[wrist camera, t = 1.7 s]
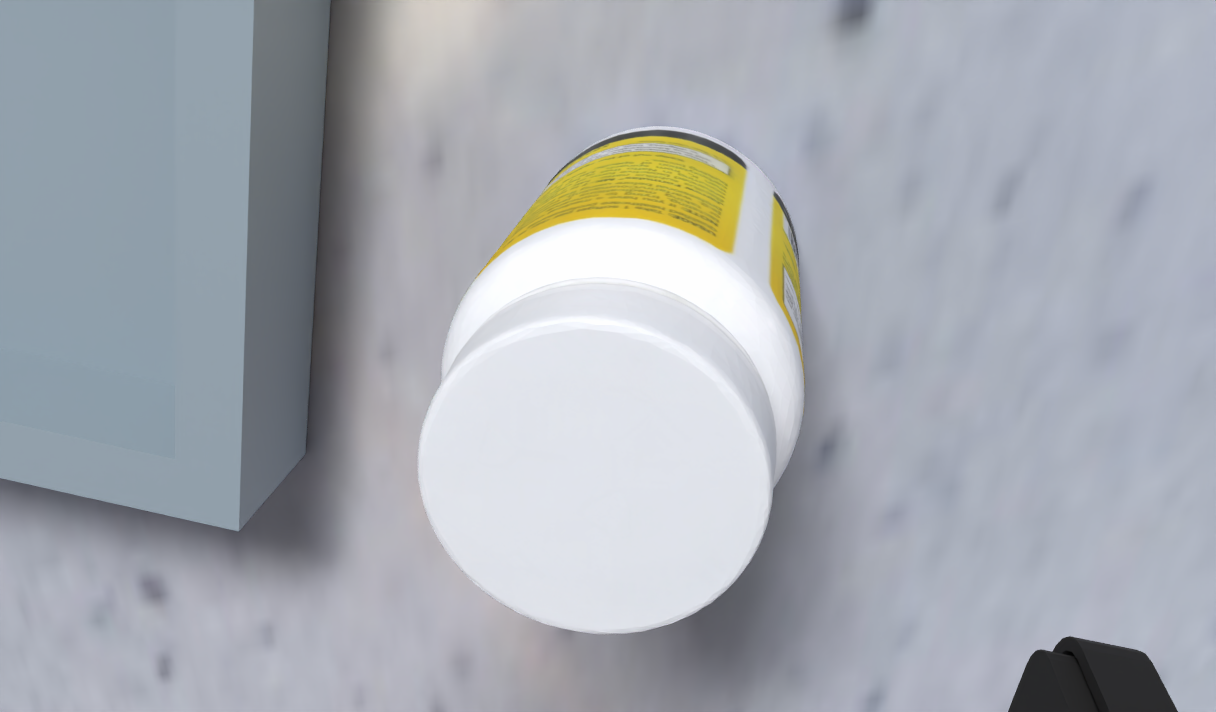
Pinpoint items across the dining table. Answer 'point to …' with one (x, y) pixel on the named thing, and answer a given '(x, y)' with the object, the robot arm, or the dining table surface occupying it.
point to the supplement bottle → (621, 388)
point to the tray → (159, 247)
